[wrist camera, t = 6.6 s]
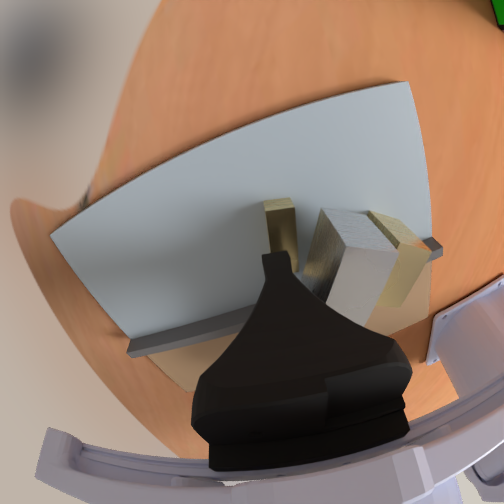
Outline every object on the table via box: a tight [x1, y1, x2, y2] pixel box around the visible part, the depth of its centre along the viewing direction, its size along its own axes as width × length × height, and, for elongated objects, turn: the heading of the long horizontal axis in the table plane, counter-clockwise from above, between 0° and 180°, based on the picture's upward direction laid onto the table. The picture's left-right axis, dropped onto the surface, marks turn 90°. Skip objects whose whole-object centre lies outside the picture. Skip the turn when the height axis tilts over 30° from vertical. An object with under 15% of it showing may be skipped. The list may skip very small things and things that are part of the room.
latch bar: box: [301, 207, 399, 327], centre depth 11 cm, size 10×3×4 cm, turn 172°
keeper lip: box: [263, 197, 299, 273], centre depth 12 cm, size 3×1×1 cm, turn 8°
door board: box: [50, 81, 443, 392], centre depth 14 cm, size 20×16×2 cm
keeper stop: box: [367, 210, 432, 308], centre depth 12 cm, size 3×2×3 cm, turn 167°
